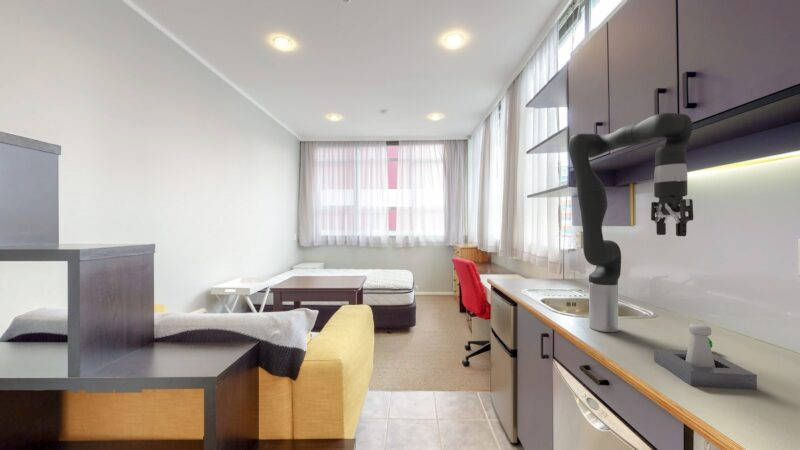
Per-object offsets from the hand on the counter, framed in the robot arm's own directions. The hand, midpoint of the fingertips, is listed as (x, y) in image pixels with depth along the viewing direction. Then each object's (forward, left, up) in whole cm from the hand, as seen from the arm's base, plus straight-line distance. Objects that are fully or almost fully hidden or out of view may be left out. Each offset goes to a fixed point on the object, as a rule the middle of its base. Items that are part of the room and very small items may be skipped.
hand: (670, 235), depth 94 cm
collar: (+11, 0, -36) cm, 38 cm away
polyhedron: (-6, +12, -36) cm, 39 cm away
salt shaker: (+11, 0, -36) cm, 38 cm away
